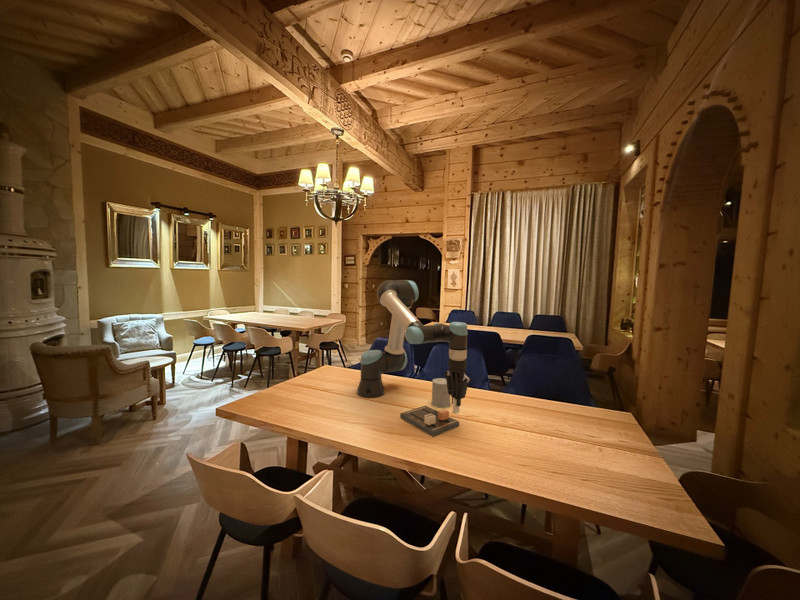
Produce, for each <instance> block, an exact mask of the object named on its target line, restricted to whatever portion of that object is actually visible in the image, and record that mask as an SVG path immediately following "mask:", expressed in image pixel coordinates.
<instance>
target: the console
mask: <svg viewBox="0 0 800 600" xmlns="http://www.w3.org/2000/svg"><path fill="white" fill-rule="evenodd" d="M438 411H439V410H438ZM438 411H437V410H435V409H434V408H431V407H430V406H427V405H423V406H420V407H417V408H416V407H415V408H413V409H410V410H407V411H404V412H401V413H400V414H399V417H400V419H402V420H404V421H405V422H407V423H408V424H411V426H414V427H416V428H418V429H419V430H420V431H422V432H424V433H426V434H427V435H429V436H431V437H432V438H434V437H437V436H439V435H441V434H443V433H446V432H448V431H451V430H454V429H456V428H458V427H460V421H459V420H456V419H454V418H452V417H450V416H449V418H448V419H446V420H443V421H442V420H440V419H438ZM428 414H434V415H435V416H436V423H434V424H431V425H427V424H426V423H424V416H425V415H428Z"/></svg>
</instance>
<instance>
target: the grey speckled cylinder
mask: <svg viewBox="0 0 800 600" xmlns="http://www.w3.org/2000/svg"><path fill="white" fill-rule="evenodd" d="M431 387H432V389H431V391H432V392H431V405H432V406H433V407H435V408H437V409H446V408H449V407H450V406H451V395H449V394H448V388H447V381H446V378H444V377H437V378H434V379H433V378H432V386H431Z"/></svg>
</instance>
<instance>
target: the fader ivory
mask: <svg viewBox="0 0 800 600" xmlns="http://www.w3.org/2000/svg"><path fill="white" fill-rule="evenodd" d="M424 423H426V424H427V425H431V424H434V423H436V416H435V415H434V414H428V415H425V416H424Z"/></svg>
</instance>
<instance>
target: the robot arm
mask: <svg viewBox="0 0 800 600" xmlns="http://www.w3.org/2000/svg"><path fill="white" fill-rule="evenodd" d="M419 295H420V293H419V289H418V285H417V284H416V282H415V281H413V280H408V279H395V280H394V279H393V280H392V279H387V280H384V281H383V282H381V283H380V284H379V285H378V287H377V289H376V298H377V300H378V302H379V303H380V305H381V306H382V307H384V308H386V309H387V310H388V311H389V312H390V314H391V321H390V328H389V334H388V341H387V345H385V346H384V351H382V350H380V349H370V350H367V351H364V352H362V354H361V356H360V379H359V380H360V381H359V383H358V385H357V389H356V393H357V395H358V396H360V397H362V398H366V399H367V398H368V399H371V398H378V397H382V396H383V395H384V394H385V387H384V383H383V380H382V374H386V373H392V372H399V371H403V370H404V369H405V368H406V366H407V364H408V354H407V353H406V350H405V349H404V343H405V342H404V341H405V338H406V342H407V343H408V344H411V345H420V344H427V343H428V344H429V343H438V342H445V343H448V364H447V365H448V370H447V371H444V372H443V374H444V376H445V379H446V381H447V388H448V394H449V395H450V398H451V405H452V414H454V415H456V414H458V413H460V407H461V405H462V399H464V398H466V394H467V390H468V386H469V382H470V381H471V377H469V376H467V373H466V368H467V358H468V357H467V356H468V354H467V353H468V335H469V332H468V324H467V323H466V322H460V321H452V322H450V323H449V324H445V323H441V322H439V323H438V322H437V323H434V324H429V325H424V324H423V323H422V322H421V321H420V320H419V319H418V318H417V317H416V316H415V315H414V313H413V312H412V311H411V310H410V309H411V308H412V307H413V304H414V303H415V302H417V300H418V299H419Z"/></svg>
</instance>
